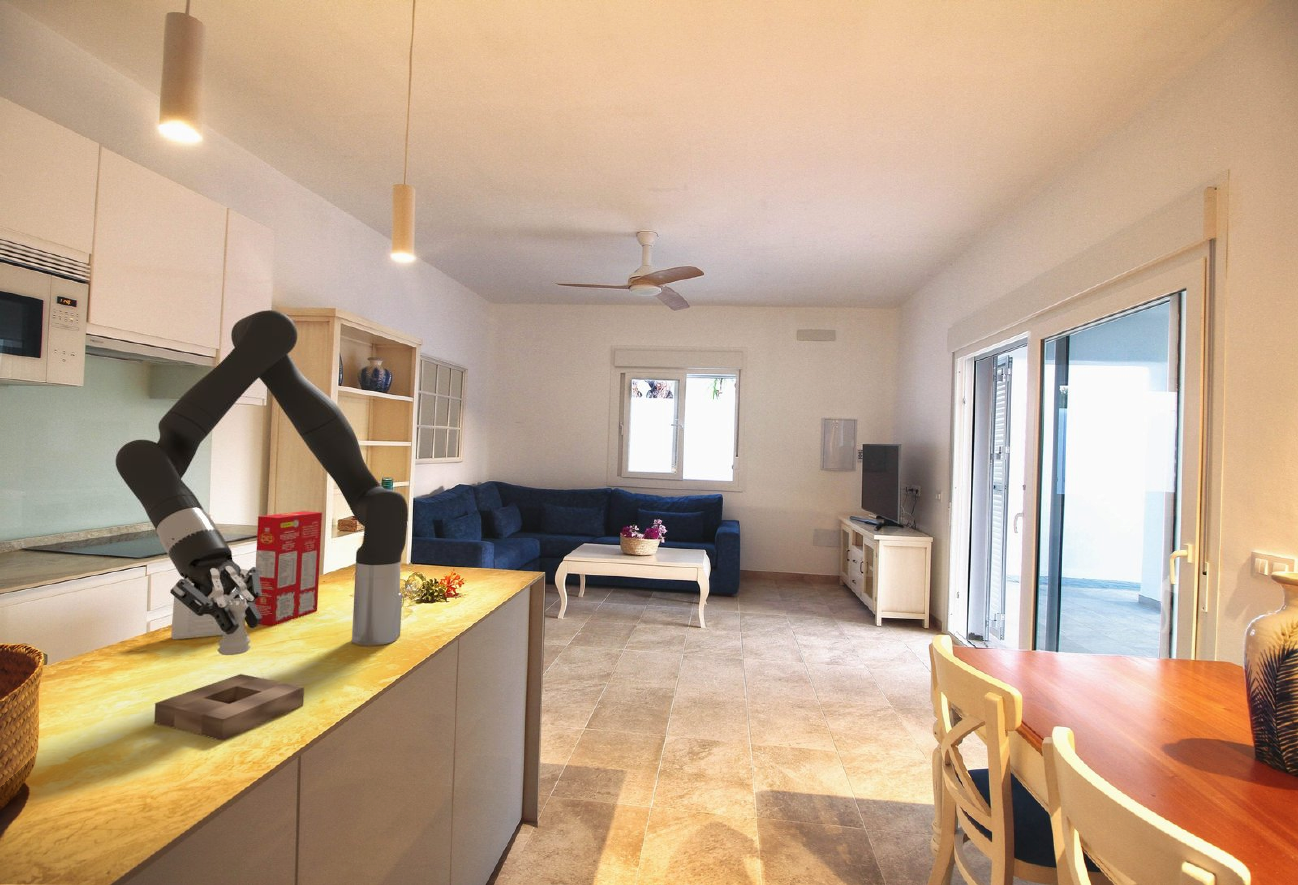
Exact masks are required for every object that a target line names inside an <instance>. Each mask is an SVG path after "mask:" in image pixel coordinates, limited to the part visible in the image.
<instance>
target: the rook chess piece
mask: <svg viewBox="0 0 1298 885" xmlns="http://www.w3.org/2000/svg"><path fill="white" fill-rule="evenodd" d="M241 599H242V601H241ZM241 599H238V601H236V602H235V599H231V600H228V601H227V605H226V606H225V608H226V607H229V609H230V611H231V612H232V614H233V616H234V617H235V619H236V621H237V622H238V624H239V627H238V629H237V630H236V631H235V632H234V633H233V634H229V635H227V634H226V633H225V632H224V635H221V639H219V641H218V643H217V645H218V646H219V647H218V649H217V652H218V653H219V654H220V655H223V656H235V655H236V656H237V655H241V654H245V653H247V652H248V651H249V650H250V649H251V648H252V647H251V645H250V643H251V638H250V636H248V635H249V634H248V633H247V630H246V621H245V617H246V616H247V615H246V614H245V610H246V609H247V608H248V606H249V605H248V604H247V603H246V599H244V598H241Z"/></svg>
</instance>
